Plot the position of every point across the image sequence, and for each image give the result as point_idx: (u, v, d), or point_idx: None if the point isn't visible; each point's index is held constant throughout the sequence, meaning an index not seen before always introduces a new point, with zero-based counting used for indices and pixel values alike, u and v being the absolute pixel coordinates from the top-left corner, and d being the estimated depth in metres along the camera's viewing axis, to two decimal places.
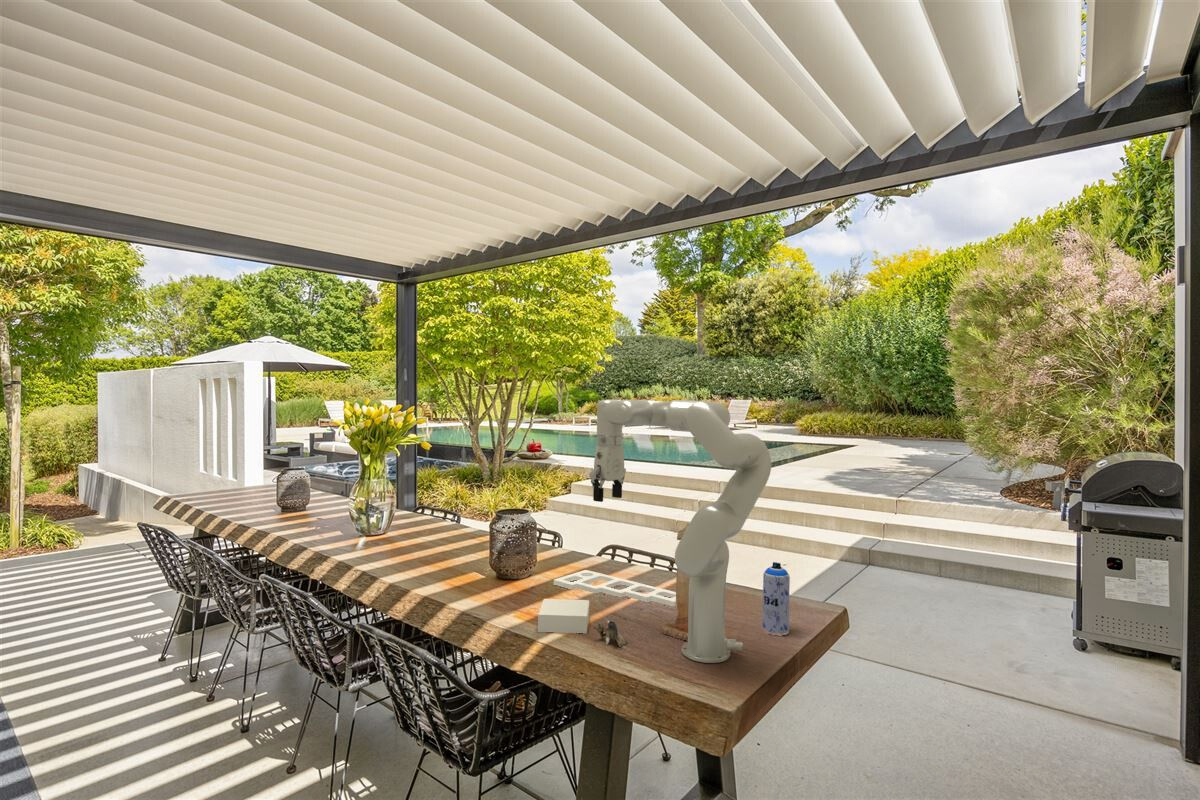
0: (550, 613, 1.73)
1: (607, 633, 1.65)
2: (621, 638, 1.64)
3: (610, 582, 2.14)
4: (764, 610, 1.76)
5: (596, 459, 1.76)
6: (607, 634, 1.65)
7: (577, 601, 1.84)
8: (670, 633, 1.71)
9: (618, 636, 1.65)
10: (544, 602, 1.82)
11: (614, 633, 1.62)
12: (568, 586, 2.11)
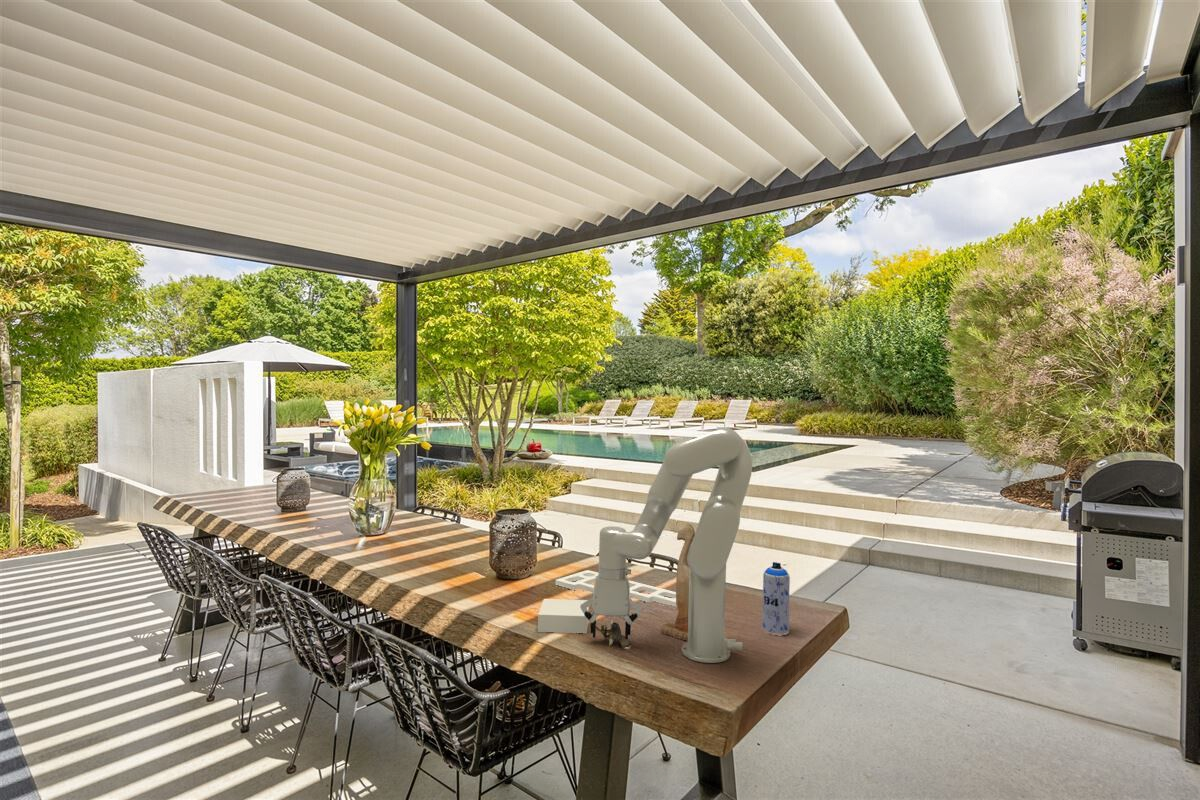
0: (550, 613, 1.73)
1: (610, 634, 1.65)
2: (624, 639, 1.64)
3: None
4: (764, 610, 1.76)
5: (629, 593, 1.64)
6: (610, 635, 1.64)
7: (577, 601, 1.84)
8: (670, 633, 1.71)
9: (621, 637, 1.64)
10: (544, 602, 1.82)
11: (617, 634, 1.62)
12: (570, 586, 2.11)
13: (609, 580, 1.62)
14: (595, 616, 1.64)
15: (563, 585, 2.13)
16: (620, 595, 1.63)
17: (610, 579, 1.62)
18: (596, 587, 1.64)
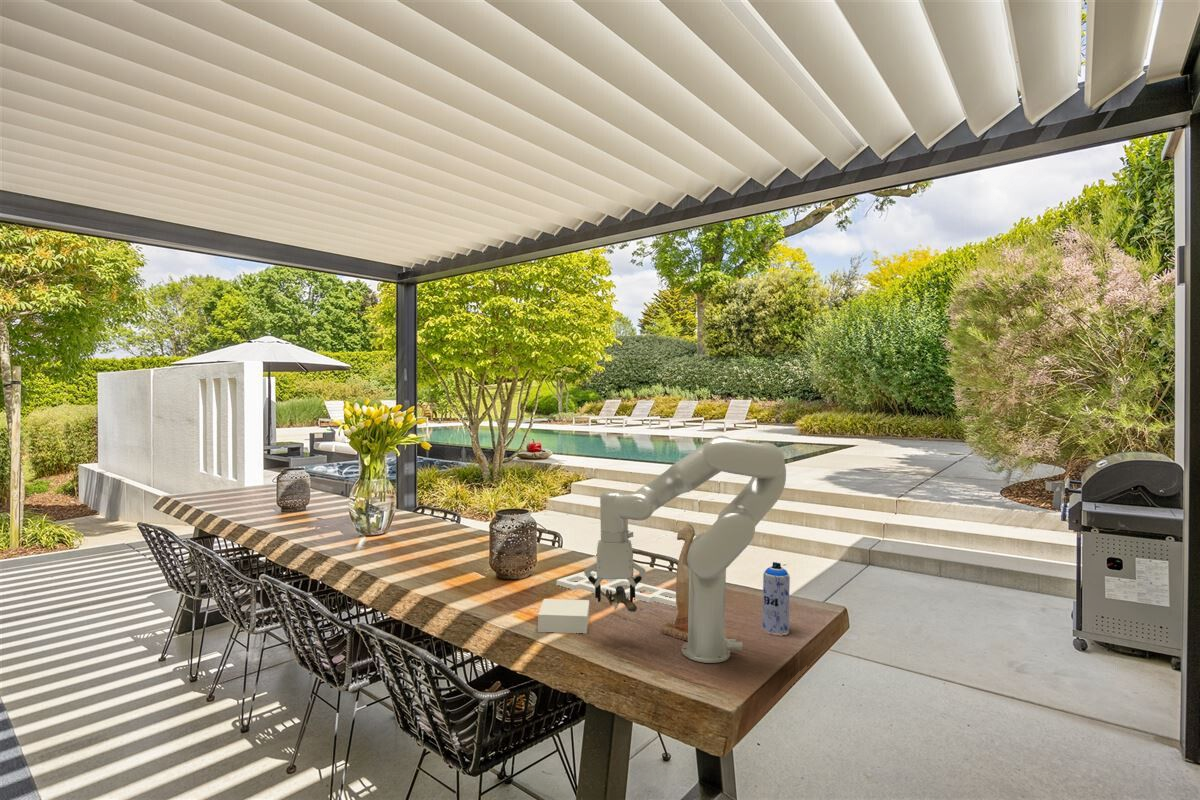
0: (550, 613, 1.73)
1: (615, 598, 1.64)
2: (629, 602, 1.63)
3: (613, 582, 2.14)
4: (764, 610, 1.76)
5: (632, 555, 1.64)
6: (615, 599, 1.64)
7: (577, 601, 1.84)
8: (670, 633, 1.71)
9: (626, 600, 1.64)
10: (544, 602, 1.82)
11: (622, 597, 1.61)
12: (571, 586, 2.11)
13: (611, 543, 1.62)
14: (599, 580, 1.64)
15: (564, 585, 2.13)
16: (623, 558, 1.63)
17: (612, 542, 1.62)
18: (599, 551, 1.63)
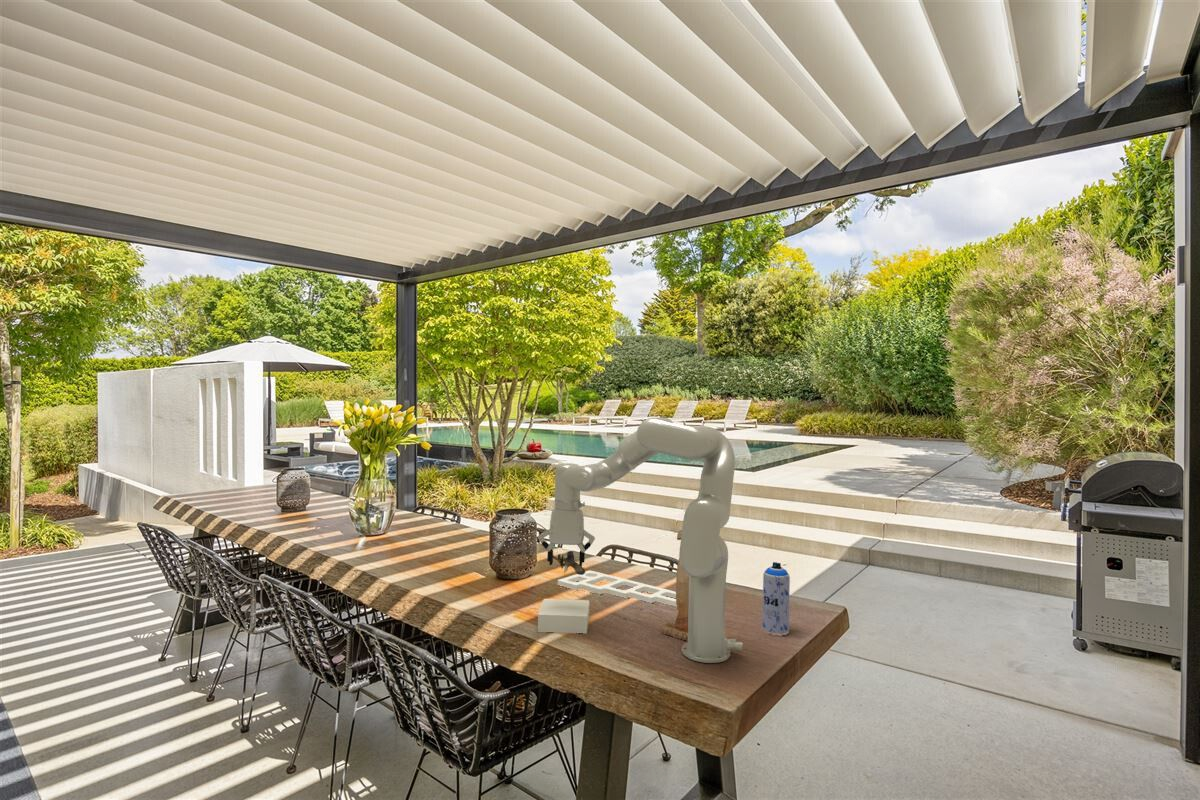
0: (550, 613, 1.73)
1: (566, 562, 1.78)
2: (578, 566, 1.77)
3: (614, 583, 2.14)
4: (764, 610, 1.76)
5: (582, 523, 1.78)
6: (566, 563, 1.78)
7: (577, 601, 1.84)
8: (670, 633, 1.71)
9: (576, 564, 1.77)
10: (544, 602, 1.82)
11: (571, 561, 1.75)
12: (572, 586, 2.11)
13: (563, 511, 1.75)
14: (551, 545, 1.77)
15: (565, 585, 2.13)
16: (574, 525, 1.76)
17: (564, 510, 1.75)
18: (552, 518, 1.77)
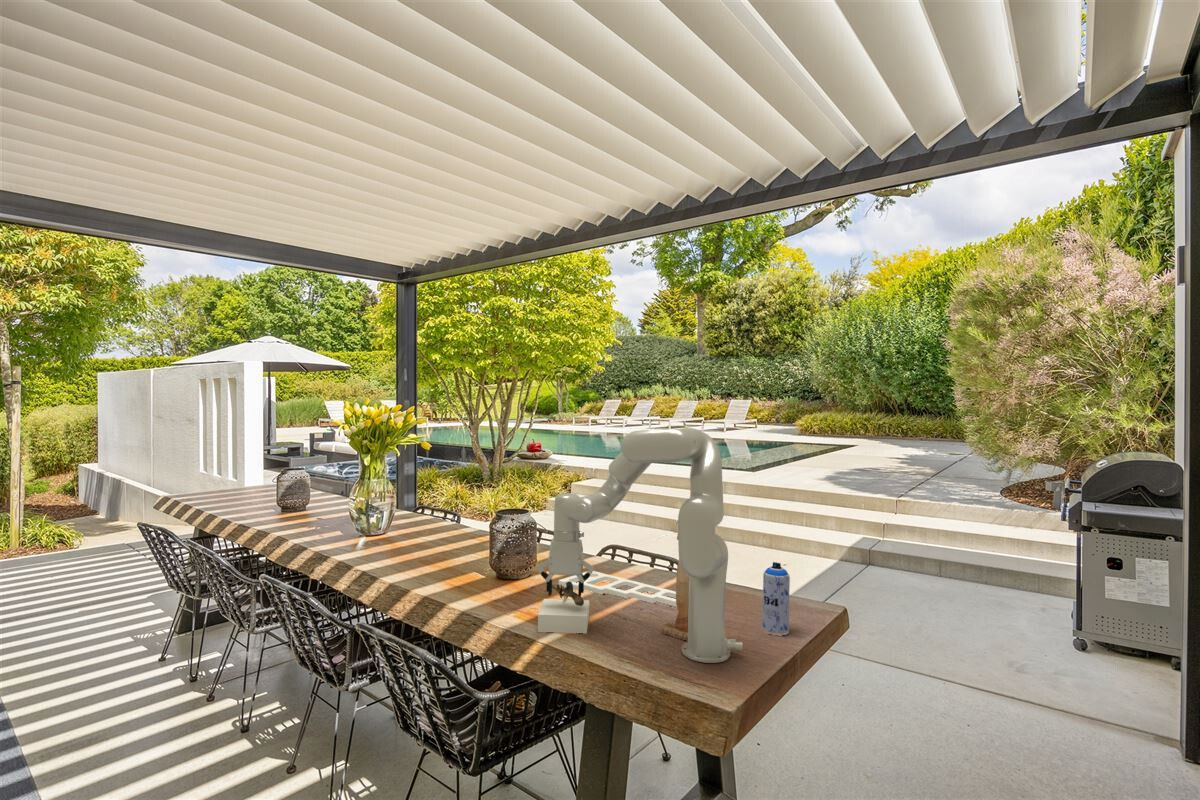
0: (550, 613, 1.73)
1: (565, 592, 1.78)
2: (577, 597, 1.77)
3: (615, 583, 2.14)
4: (764, 610, 1.76)
5: (582, 554, 1.78)
6: (565, 593, 1.78)
7: None
8: (670, 633, 1.71)
9: (575, 595, 1.77)
10: (544, 602, 1.82)
11: (570, 592, 1.75)
12: (573, 587, 2.11)
13: (563, 541, 1.75)
14: (551, 575, 1.77)
15: None
16: (573, 556, 1.76)
17: (563, 541, 1.75)
18: (551, 548, 1.77)
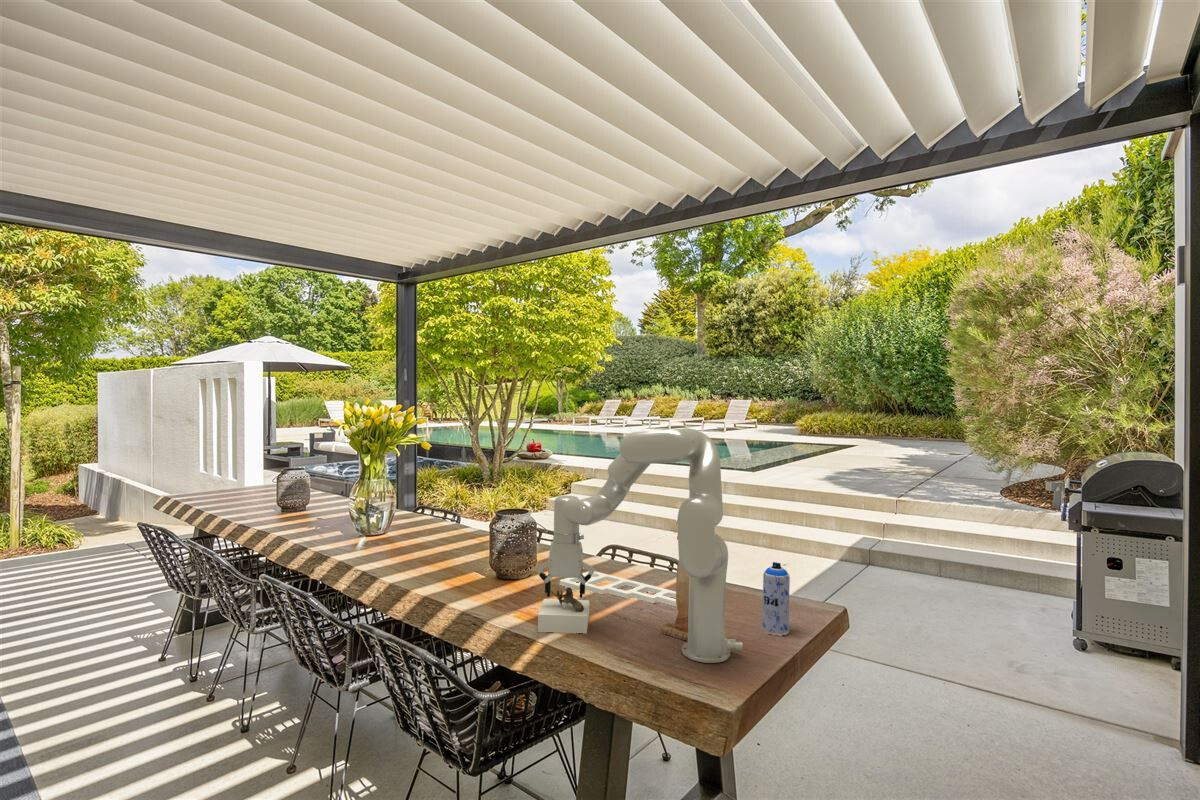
0: (550, 613, 1.73)
1: (565, 598, 1.78)
2: (577, 603, 1.77)
3: (616, 583, 2.13)
4: (764, 610, 1.76)
5: (581, 556, 1.78)
6: (564, 599, 1.78)
7: None
8: (670, 633, 1.71)
9: (575, 601, 1.77)
10: (544, 602, 1.82)
11: (570, 598, 1.75)
12: (574, 587, 2.11)
13: (562, 544, 1.75)
14: (549, 577, 1.77)
15: (567, 586, 2.13)
16: (573, 558, 1.76)
17: (563, 543, 1.75)
18: (551, 551, 1.77)
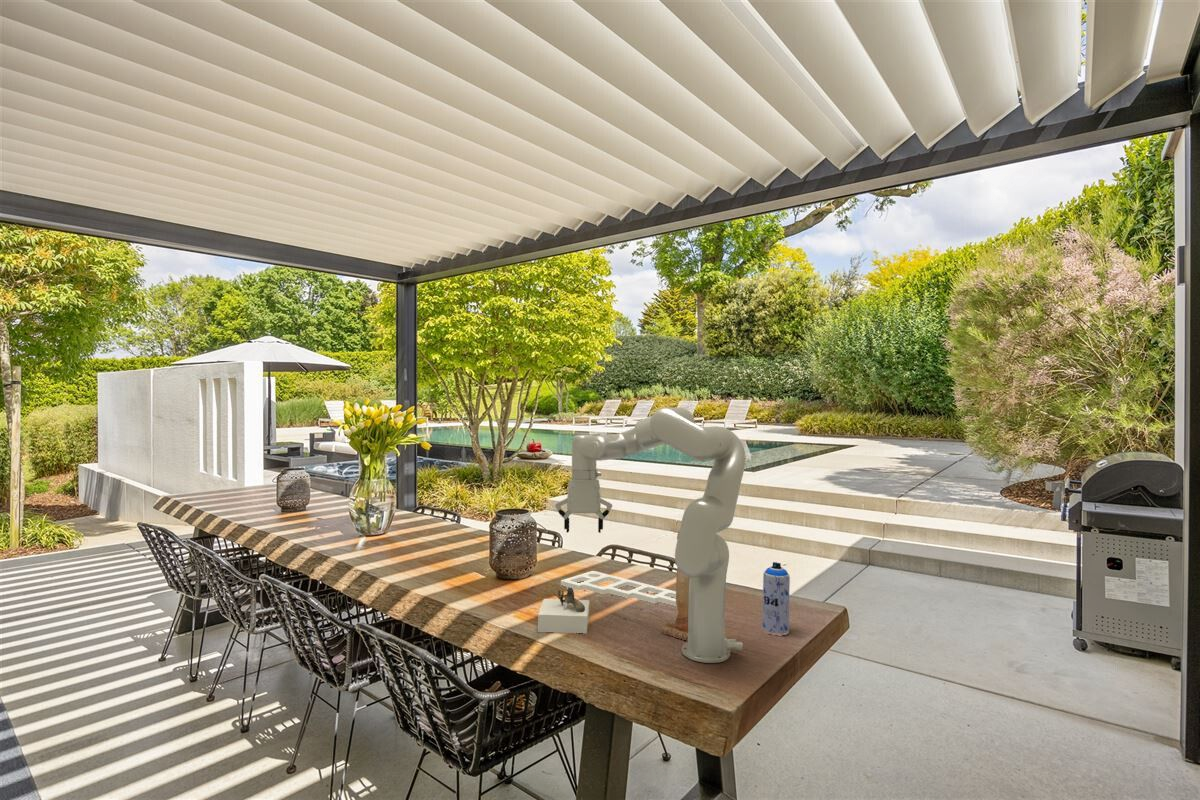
0: (550, 613, 1.73)
1: (566, 599, 1.78)
2: (578, 603, 1.77)
3: (617, 583, 2.13)
4: (764, 610, 1.76)
5: (599, 492, 1.83)
6: (566, 599, 1.78)
7: None
8: (670, 633, 1.71)
9: (576, 601, 1.77)
10: (544, 602, 1.82)
11: (571, 598, 1.75)
12: (575, 587, 2.11)
13: (581, 480, 1.80)
14: (568, 513, 1.82)
15: (568, 586, 2.13)
16: (591, 494, 1.81)
17: (582, 479, 1.80)
18: (570, 487, 1.82)
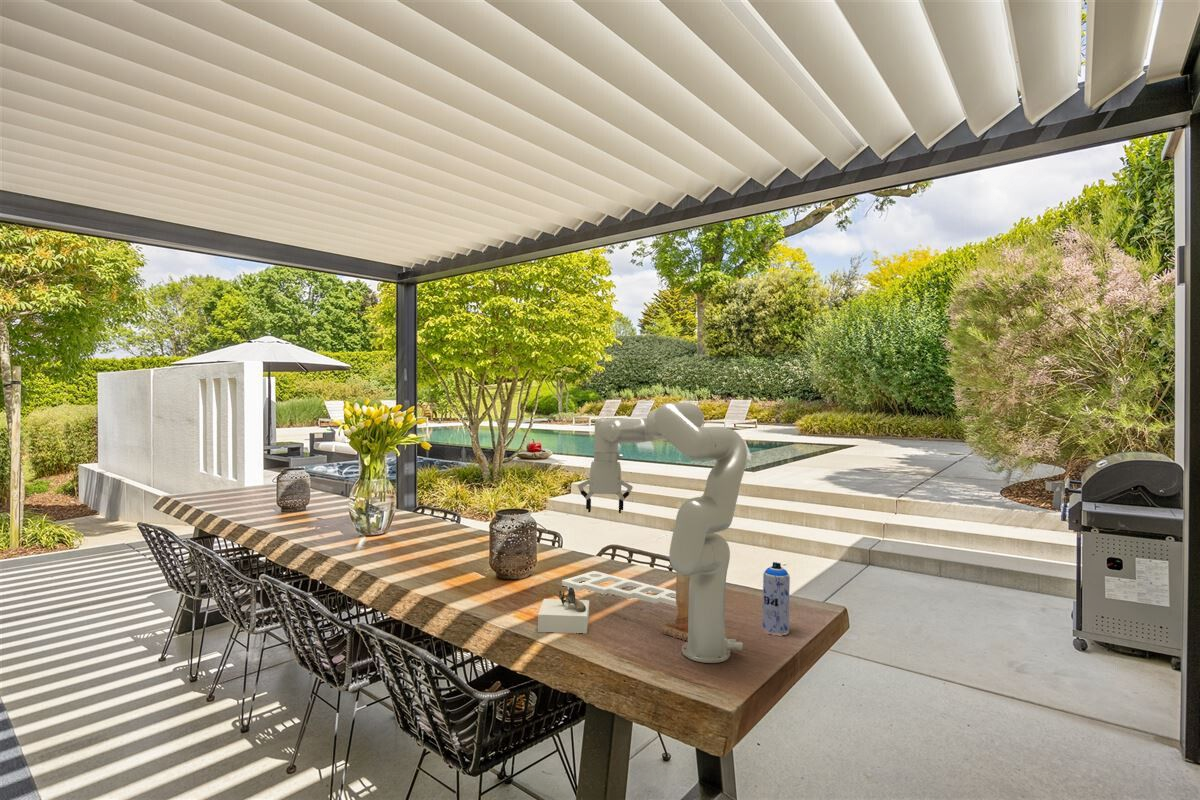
0: (550, 613, 1.73)
1: (567, 599, 1.78)
2: (579, 603, 1.77)
3: (618, 583, 2.13)
4: (764, 610, 1.76)
5: (620, 474, 1.89)
6: (567, 600, 1.77)
7: None
8: (670, 633, 1.71)
9: (577, 601, 1.77)
10: (544, 602, 1.82)
11: (572, 598, 1.75)
12: (576, 587, 2.10)
13: (603, 462, 1.87)
14: (590, 494, 1.89)
15: (569, 586, 2.13)
16: (613, 475, 1.88)
17: (604, 461, 1.87)
18: (592, 469, 1.89)
